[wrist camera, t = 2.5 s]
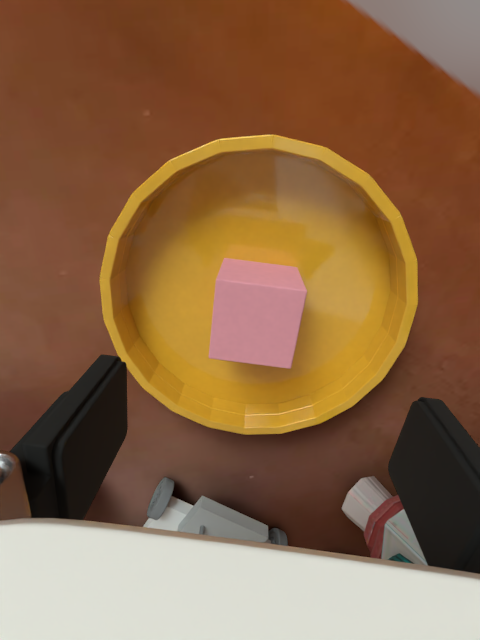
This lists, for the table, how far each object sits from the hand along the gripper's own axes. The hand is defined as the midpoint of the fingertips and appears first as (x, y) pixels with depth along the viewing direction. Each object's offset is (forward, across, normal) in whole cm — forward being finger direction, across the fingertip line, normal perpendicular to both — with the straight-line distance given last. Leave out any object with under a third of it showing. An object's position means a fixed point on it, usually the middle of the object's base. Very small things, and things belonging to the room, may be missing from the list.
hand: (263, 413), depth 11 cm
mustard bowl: (+12, 0, 0) cm, 12 cm away
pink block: (+11, 0, 0) cm, 11 cm away
